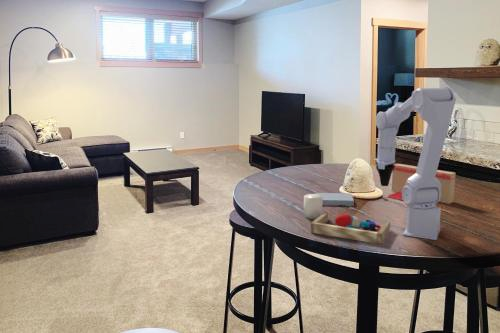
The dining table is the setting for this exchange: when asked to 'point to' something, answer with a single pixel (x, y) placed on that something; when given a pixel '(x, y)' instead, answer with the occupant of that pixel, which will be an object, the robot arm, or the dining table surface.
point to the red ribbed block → (407, 171)
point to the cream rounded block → (312, 206)
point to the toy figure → (355, 222)
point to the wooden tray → (348, 231)
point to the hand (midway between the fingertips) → (384, 185)
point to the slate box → (337, 199)
